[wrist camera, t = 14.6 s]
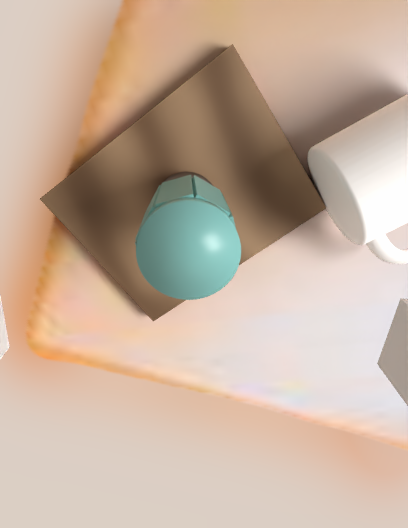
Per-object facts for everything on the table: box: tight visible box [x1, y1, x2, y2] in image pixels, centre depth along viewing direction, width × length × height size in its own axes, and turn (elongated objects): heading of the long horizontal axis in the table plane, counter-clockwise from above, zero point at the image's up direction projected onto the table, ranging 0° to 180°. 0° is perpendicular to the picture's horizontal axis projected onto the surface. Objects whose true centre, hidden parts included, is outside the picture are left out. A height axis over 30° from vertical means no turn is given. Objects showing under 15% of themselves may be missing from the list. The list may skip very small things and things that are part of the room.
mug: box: [308, 94, 408, 264], centre depth 26 cm, size 12×10×8 cm
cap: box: [135, 175, 241, 300], centre depth 21 cm, size 5×5×7 cm
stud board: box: [40, 44, 326, 321], centre depth 25 cm, size 18×14×10 cm
